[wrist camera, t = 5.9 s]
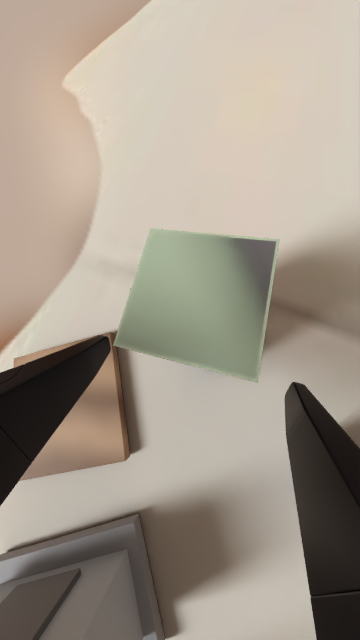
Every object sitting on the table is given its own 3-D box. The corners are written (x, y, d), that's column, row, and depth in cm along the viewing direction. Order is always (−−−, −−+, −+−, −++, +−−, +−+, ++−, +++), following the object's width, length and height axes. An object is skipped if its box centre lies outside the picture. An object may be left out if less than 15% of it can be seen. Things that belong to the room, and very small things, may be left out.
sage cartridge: (229, 373, 18) (257, 382, 6) (177, 360, 19) (112, 345, 7) (238, 321, 19) (279, 239, 7) (189, 312, 20) (150, 228, 8)
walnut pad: (130, 455, 17) (125, 460, 17) (19, 476, 19) (9, 482, 18) (114, 333, 21) (110, 332, 20) (22, 359, 22) (13, 358, 21)
